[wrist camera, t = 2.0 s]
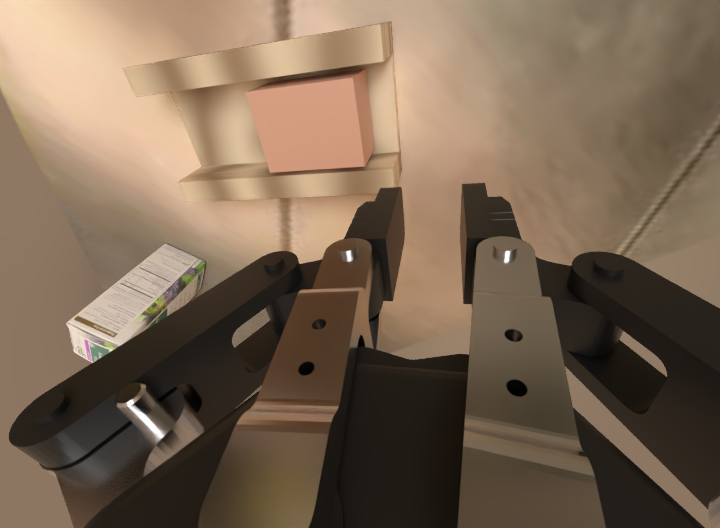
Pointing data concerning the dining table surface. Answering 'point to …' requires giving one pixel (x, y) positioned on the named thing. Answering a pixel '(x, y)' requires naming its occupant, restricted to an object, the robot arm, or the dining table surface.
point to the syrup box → (136, 302)
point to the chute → (236, 124)
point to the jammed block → (314, 121)
